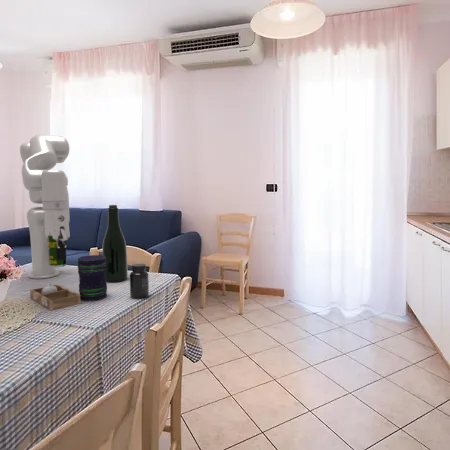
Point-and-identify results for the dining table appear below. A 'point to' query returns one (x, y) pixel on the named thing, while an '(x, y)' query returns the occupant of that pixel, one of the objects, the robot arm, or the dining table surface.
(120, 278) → the wine bottle
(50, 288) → the garlic
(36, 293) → the slot rack
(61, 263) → the beer can
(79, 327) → the dining table surface
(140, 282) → the supplement bottle
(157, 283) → the dining table surface
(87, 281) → the storage jar
